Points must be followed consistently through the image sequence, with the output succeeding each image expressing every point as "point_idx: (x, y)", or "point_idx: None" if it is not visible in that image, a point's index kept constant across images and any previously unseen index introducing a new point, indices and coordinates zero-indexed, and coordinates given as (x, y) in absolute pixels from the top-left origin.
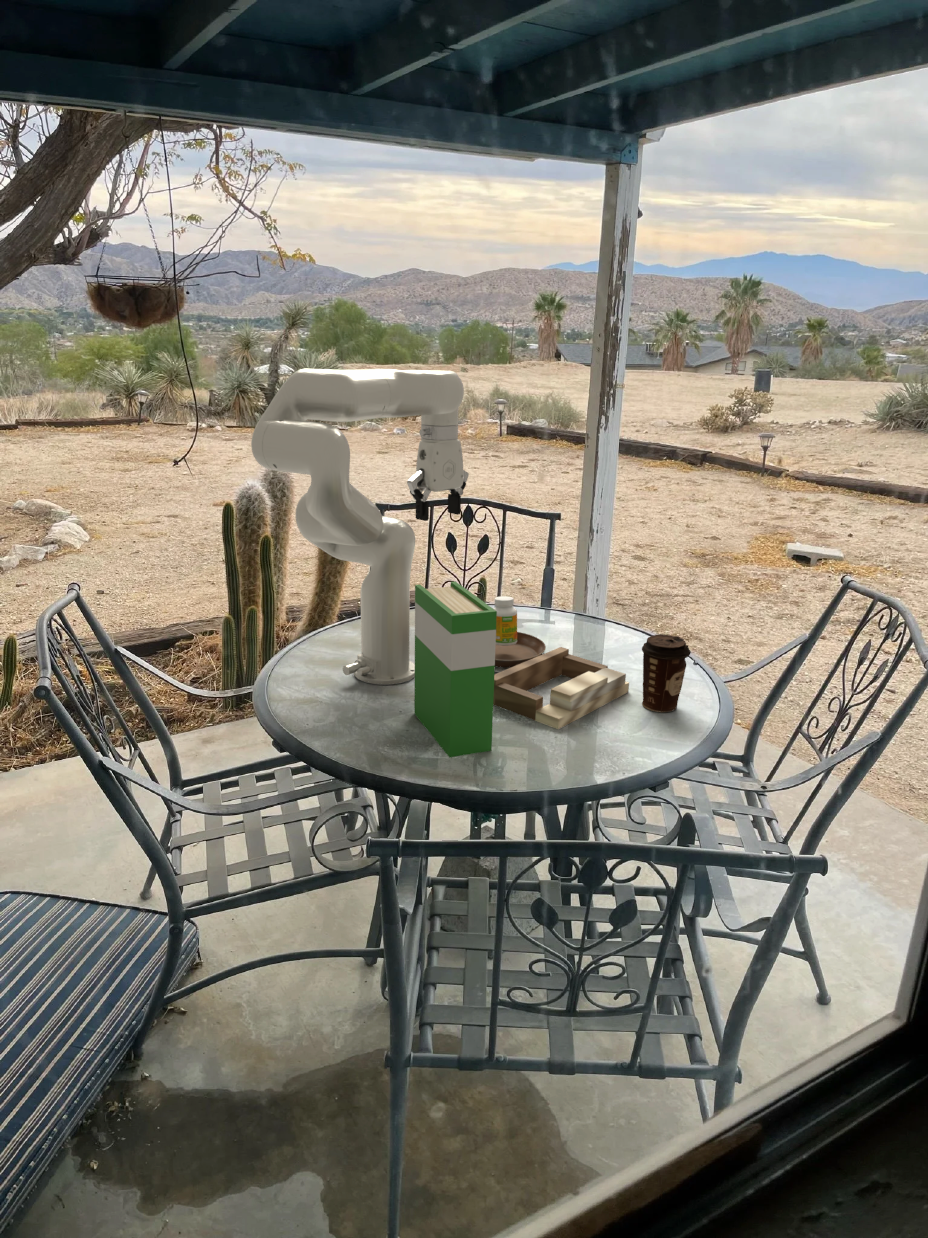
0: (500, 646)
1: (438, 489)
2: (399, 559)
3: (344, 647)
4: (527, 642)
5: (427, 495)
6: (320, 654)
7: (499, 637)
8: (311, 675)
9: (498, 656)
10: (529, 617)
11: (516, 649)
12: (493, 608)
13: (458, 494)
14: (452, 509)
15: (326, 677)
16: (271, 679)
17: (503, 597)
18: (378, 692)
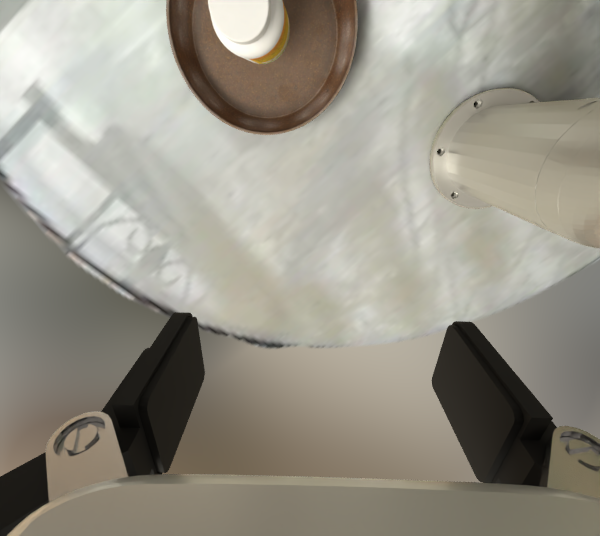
0: (235, 77)
1: (563, 508)
2: None
3: (418, 282)
4: (184, 27)
5: (569, 479)
6: (463, 285)
7: (287, 15)
8: (546, 234)
9: None
10: (59, 155)
11: None
12: (263, 45)
13: (115, 430)
14: (194, 363)
15: None
16: (584, 263)
17: (231, 14)
18: (570, 95)
